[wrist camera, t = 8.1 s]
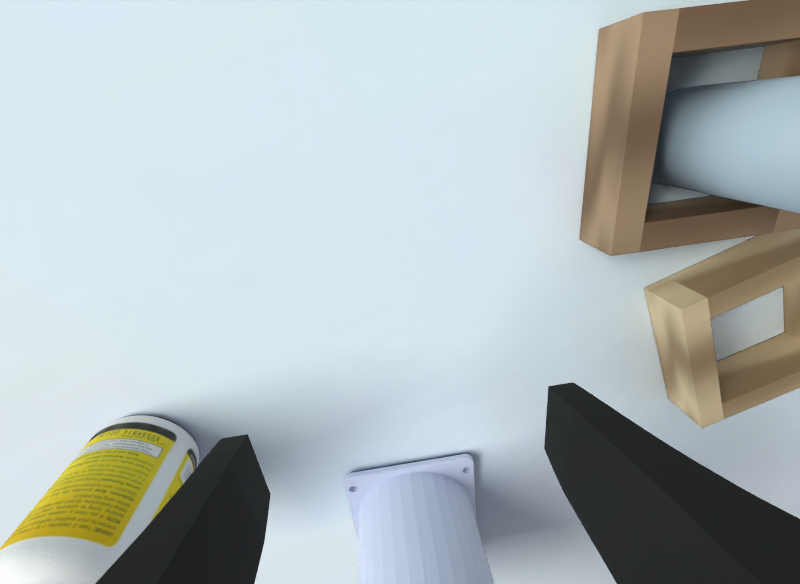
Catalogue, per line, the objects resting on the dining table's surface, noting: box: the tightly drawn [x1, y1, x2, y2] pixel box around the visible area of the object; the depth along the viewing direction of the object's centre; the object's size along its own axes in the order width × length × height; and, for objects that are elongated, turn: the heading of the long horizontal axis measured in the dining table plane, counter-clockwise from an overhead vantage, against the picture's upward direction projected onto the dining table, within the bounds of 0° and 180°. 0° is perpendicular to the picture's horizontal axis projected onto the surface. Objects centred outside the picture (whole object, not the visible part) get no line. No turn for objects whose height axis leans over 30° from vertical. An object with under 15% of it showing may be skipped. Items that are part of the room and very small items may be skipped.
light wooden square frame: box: [644, 229, 800, 428], centre depth 20 cm, size 8×8×2 cm
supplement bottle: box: [0, 415, 199, 584], centre depth 16 cm, size 5×5×10 cm
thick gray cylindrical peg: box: [651, 76, 800, 213], centre depth 13 cm, size 4×4×8 cm
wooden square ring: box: [580, 0, 800, 256], centre depth 15 cm, size 8×8×2 cm
